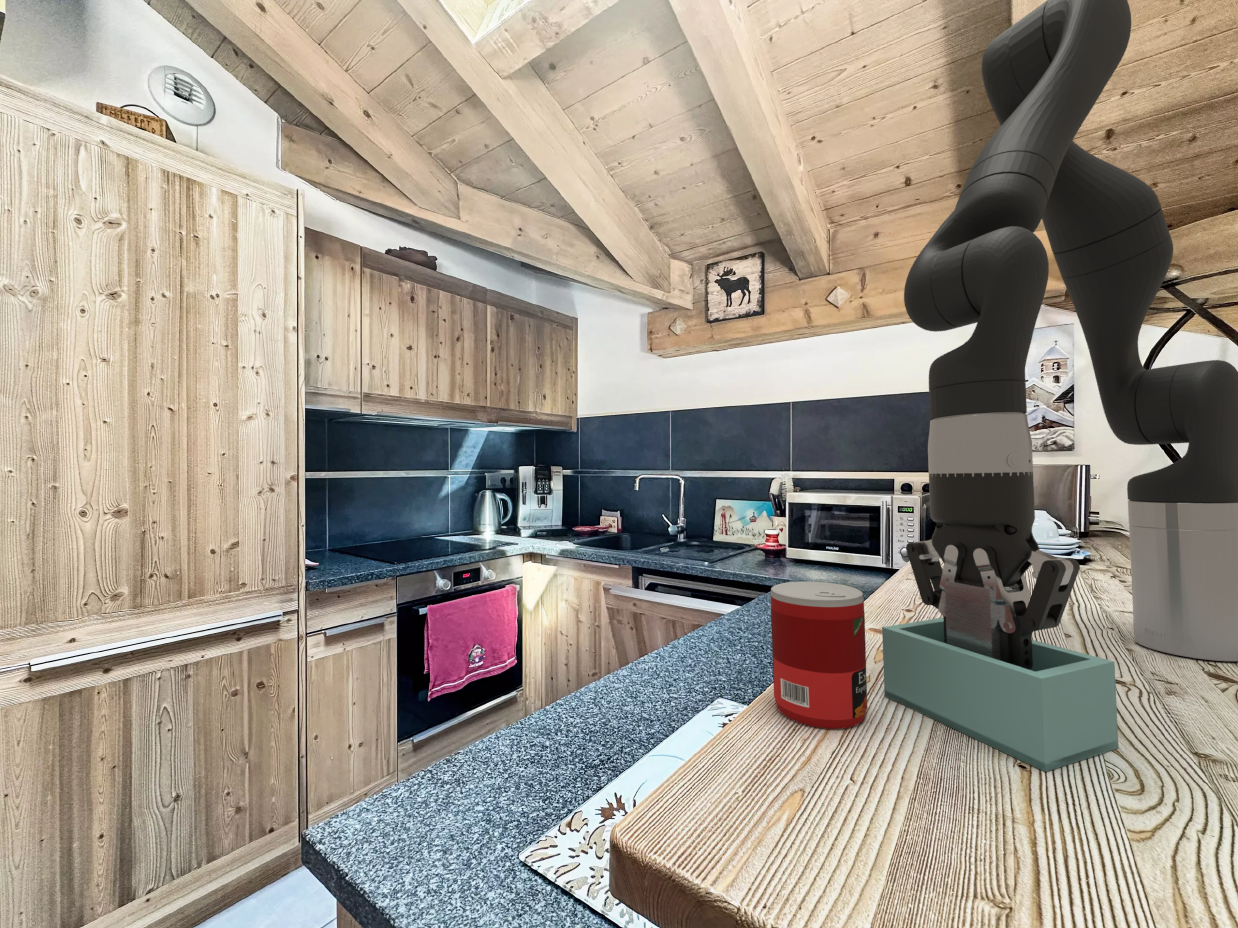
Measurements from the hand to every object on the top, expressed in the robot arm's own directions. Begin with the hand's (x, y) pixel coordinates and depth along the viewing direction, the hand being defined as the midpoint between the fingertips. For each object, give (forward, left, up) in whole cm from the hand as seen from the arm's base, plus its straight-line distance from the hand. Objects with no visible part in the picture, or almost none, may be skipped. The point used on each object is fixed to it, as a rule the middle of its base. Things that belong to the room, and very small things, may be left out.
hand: (985, 665), depth 45 cm
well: (0, 0, -5) cm, 5 cm away
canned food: (+12, -7, -5) cm, 15 cm away
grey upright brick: (0, 0, -2) cm, 2 cm away
